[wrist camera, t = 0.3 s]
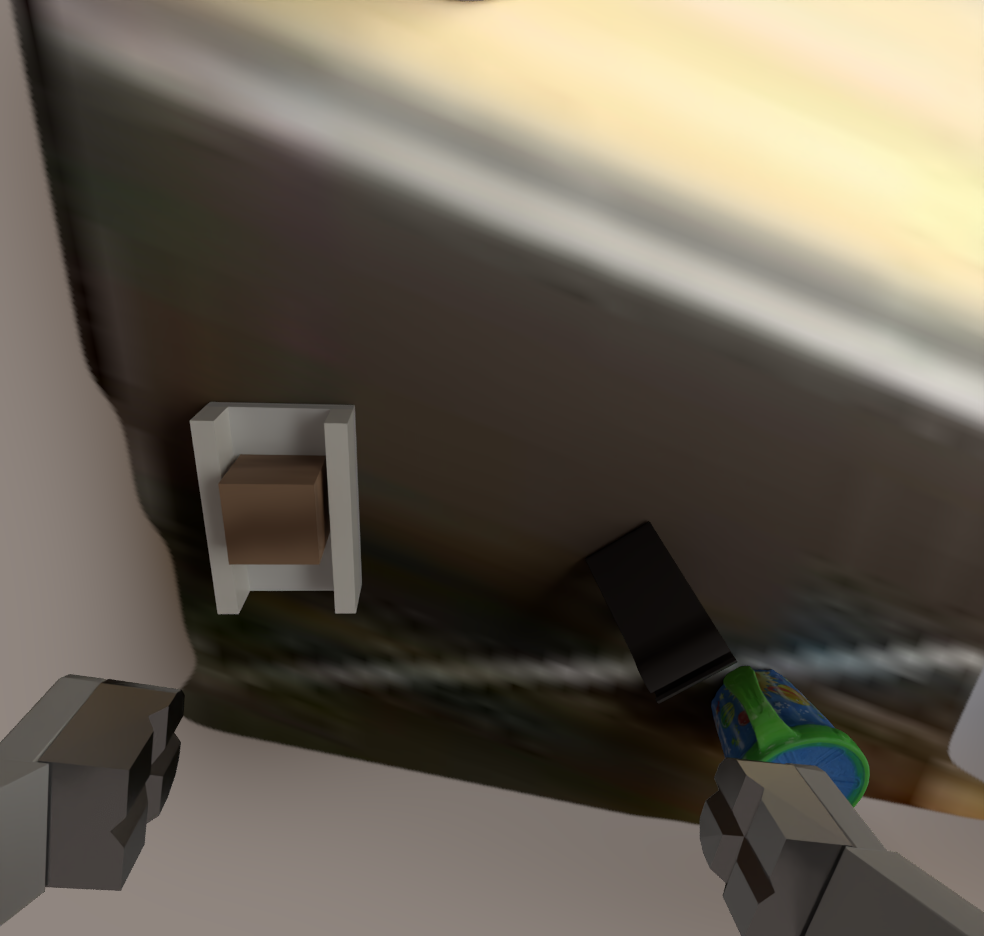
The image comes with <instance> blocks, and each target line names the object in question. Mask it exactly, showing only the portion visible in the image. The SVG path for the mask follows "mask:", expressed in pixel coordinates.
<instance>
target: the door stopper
mask: <svg viewBox="0 0 984 936" xmlns="http://www.w3.org/2000/svg"><path fill="white" fill-rule="evenodd" d="M586 561H587V564H588V566H589V568H590V570H591V572H592V574H593V576H594V578H595V580H596V582H597V584H598V586H599V588H600V590H601V592H602V594H603V596H604V598H605V600H606V602H607V604H608V606H609V608H610V611H611V613H612V615H613V617H614V619H615V621H616V623H617V625H618V627H619V629H620V631H621V633H622V635H623V637H624V639H625V641H626V643H627V645H628V647H629V649H630V651H631V654H632V656H633V658H634V660H635V663H636V666H637V668H638V671H639V673H640V675H641V677H642V679H643V681H644V683H645V685H646V686H647V688H648V690H649V691H650V693H652V692H655V694H656V698H655V699H656V701H657V703H661V702H663V701H665V700H667V699H668V698H670V697H672V696H674V695H676V694H678V693H680V692H682V691H684V690H686V689H687V688H689V687H691V686H693V685H695V684H697V683H699V682H701V681H703V680H705V679H706V678H708V677H710V676H712V675H714V674H716V673H718V672H720V671H722V670H724V669H725V668H727V667H729V666H731V665H733V664H735V663H737V661H736V659H735V657H734V656H733V654H732V653H731V651H730V649H729V648H728V646H727V644H726V643H725V641H724V640H723V638H722V636H721V635H720V633H719V632H718V630H717V628H716V627H715V625H714V624H713V622H712V621H711V619H710V617H709V616H708V614H707V613H706V611H705V609H704V608H703V606H702V605H701V603H700V601H699V600H698V598H697V597H696V595H695V593H694V592H693V590H692V589H691V587H690V585H689V584H688V582H687V581H686V579H685V577H684V576H683V574H682V573H681V571H680V569H679V568H678V566H677V565H676V563H675V561H674V560H673V558H672V557H671V555H670V553H669V552H668V550H667V549H666V547H665V546H664V544H663V542H662V541H661V539H660V538H659V536H658V534H657V533H656V531H655V530H654V528H653V526H652V525H651V523H650V522H648V523H646V524H645V525H643V526H641V527H639V528H638V529H636V530H634V531H633V532H631V533H629V534H627V535H626V536H624V537H622V538H620V539H619V540H617V541H615V542H614V543H612V544H610V545H608V546H607V547H605V548H603V549H601V550H600V551H598V552H596V553H594V554H593V555H591V556H589V557H588V558H586Z"/></svg>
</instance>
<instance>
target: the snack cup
mask: <svg viewBox="0 0 984 936" xmlns="http://www.w3.org/2000/svg"><path fill="white" fill-rule="evenodd" d="M723 682H724V684H723V685H722V686H721V687H720V689H719V690H718V691H717V693H716V695H715V698H714V699H713V700H712V704H711V708H712V712H713V718H714V721H715V725H716V729H717V732H718V736H719V739H720V741H721V745H722V749H723V752H724V755H725V758H726V757H730V758H739V759H747V760H756V761H764V762H773V763H781V764H785V763H792V764H802V765H813V766H817V767H818V768H820V769H822V770H823V771H825V772H826V773H827V775H828V776H829V777H830V778H831V780H832V781H833V782H834V784H835V785H836V786H837V787H838V789H839V790H840V791H841V792H842V794H843V795H844V796H845V798H846V799H847V800H848V801H849V803H850V804H851V805H852V806H853V808H854V807H855V806H856V804H857V803H858V802H859V801H860V799H861V798H862V796H863V794H864V792H865V791H866V788H867V785H868V782H869V775H870V773H869V765H868V762H867V760H866V758H865V756H864V754H863V753H862V751H861V750H860V748H859V747H858V746H857V745H856V744H855V742H854V741H853V740H852V739H851V738H850V737H849V736H848V735H847V734H845V733H844V732H842V731H840V730H838V729H835V728H834V726H833V725H832V724H831V723H830V722H829V721H828V720H827V719H826V718H825V717H824V716H823V715H822V714H821V713H820V712H819V711H818V710H817V709H816V708H815V707H814V706H813V705H812V704H811V703H810V702H809V701H808V700H807V699H806V698H805V697H804V696H803V695H802V694H801V693H800V692H799V691H798V690H797V689H796V688H795V687H794V686H793V685H792V684H791V683H790V682H789V681H788V680H787V679H786V678H784V677H783V676H782V675H780V674H778V673H777V672H775V671H774V670H772V669H770V670H753V669H751V667H750V666H741V667H738V668H736V669H735V670H733V671H731V672H729V673H728V674H727V675H726V676H725V678H724V679H723Z"/></svg>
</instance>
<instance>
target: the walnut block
mask: <svg viewBox="0 0 984 936" xmlns="http://www.w3.org/2000/svg"><path fill="white" fill-rule="evenodd" d="M218 486H219V494H220V501H221V509H222V516H223V524H224V531H225V539H226V546H227V554H228V561H229V565H320V562H321V558H322V555H323V552H324V549H325V546H326V543H327V540H328V537H329V534H330V514H329V497H328V480H327V464H326V456H320V455H252V454H240V456H239V457H238V458H237V460H236V461H235V462H234V464H233V465H232V466H231V467H230V469H229V470H228V471H227V473H226V474H225V475H224V477H223V478H222V479H221V481H220V482H219V483H218Z"/></svg>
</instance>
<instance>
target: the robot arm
mask: <svg viewBox="0 0 984 936" xmlns="http://www.w3.org/2000/svg"><path fill="white" fill-rule="evenodd" d="M459 1H482V0H459ZM184 698H185V695H184V693H183V691H182V690H180V689H173V688H167V687H159V686H153V685H146V684H139V683H132V682H125V681H118V680H112V679H108V680H106V679H102V678H95V677H87V676H80V675H72V674H69V675H66V676H64V677H62V678H60V679H59V680H58V681H57V682H56V683H55V684H54V685H53V686H52V687H51V688H50V689H49V690H48V691H47V692H46V694H45V695H44V696H43V697H42V698H41V699H40V700H39V701H38V702H37V703H36V704H35V705H34V707H33V708H32V709H31V710H30V711H29V712H28V713H27V714H26V715H25V716H24V718H22V719H21V721H20V722H19V723H18V724H17V725H16V726H15V727H14V728H13V729H12V730H11V731H10V732H9V734H8V735H7V736H6V737H5V738H4V739H3V740H2V741H1V742H0V926H1V925H2V924H3V923H5V922H6V921H7V920H9V919H10V918H11V917H13V916H14V915H15V914H17V913H18V912H19V911H20V910H22V909H23V908H24V907H25V906H27V905H28V904H29V903H31V902H32V901H33V900H35V899H36V898H37V897H38V896H40V895H41V894H42V893H44V892H45V887H56V888H57V887H58V888H76V889H96V890H116V891H121V889H122V887H123V885H124V883H125V881H126V879H127V877H128V875H129V873H130V872H131V870H132V868H133V866H134V864H135V862H136V860H137V858H138V856H139V854H140V852H141V850H142V848H143V846H144V843H145V832H146V824H147V823H148V822H150V821H151V820H153V819H154V818H156V817H158V816H159V814H160V812H161V810H162V808H163V806H164V804H165V802H166V800H167V798H168V795H169V792H170V789H171V786H172V783H173V781H174V778H175V774H176V770H177V765H178V761H179V754H180V745H181V742H180V740H179V739H178V737H177V736H176V734H175V733H174V732H175V730H176V728H177V726H178V724H179V722H180V720H181V719H182V717H183V714H184ZM714 778H715V781H716V783H717V786H718V788H719V791H717V792H716V793H715V794H714V795H712V796H711V797H710V798H708V799H707V800H706V801H705V804H704V807H703V810H702V814H701V817H700V841H701V845H702V850H703V854H704V856H705V858H706V860H707V862H708V865H709V867H710V869H711V870H712V871H713V872H715V873H716V874H717V875H718V876H719V877H720V878H721V879H722V880H723V881H724V882H725V883H726V885H725V889H724V893H723V898H724V900H725V902H726V904H727V906H728V908H729V911H730V913H731V915H732V917H733V919H734V921H735V923H736V926H737V928H738V930H739V932H740V934H741V936H984V912H983V911H981V910H980V909H978V908H977V907H975V906H974V905H973V904H971V903H970V902H968V901H966V900H965V899H964V898H962V897H961V896H960V895H958V894H957V893H955V892H954V891H952V890H951V889H949V888H948V887H947V886H945V885H944V884H942V883H941V882H939V881H938V880H936V879H935V878H934V877H932V876H931V875H929V874H928V873H926V872H925V871H923V870H922V869H920V868H919V867H917V866H916V865H915V864H913V863H912V862H910V861H909V860H907V859H906V858H905V857H903V856H901V855H900V854H899V853H897V852H891V851H887V850H886V849H885V848H884V846H883V845H882V843H881V842H880V841H879V840H878V838H877V837H876V836H875V834H874V833H873V832H872V831H871V829H870V828H869V827H868V826H867V824H866V823H865V822H864V820H863V819H862V818H861V817H860V815H859V814H858V813H857V812H856V810H855V809H854V808H853V806H852V805H851V804H850V803H849V801H848V800H847V799H846V798H845V796H844V795H843V794H842V792H841V791H840V790H839V789H838V787H837V786H836V785H835V784H834V782H833V781H832V780H831V778H830V777H829V776H828V775H827V773H826V772H825V771H823V770H822V769H820V768H818V767H817V766H813V765H802V764H792V763H785V764H781V763H773V762H764V761H756V760H747V759H739V758H730V757H726V758H725V759H724V760H723V761H722V762H721V763H720V764H719V767H718V770H717V772H716V775H715V777H714Z"/></svg>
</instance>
